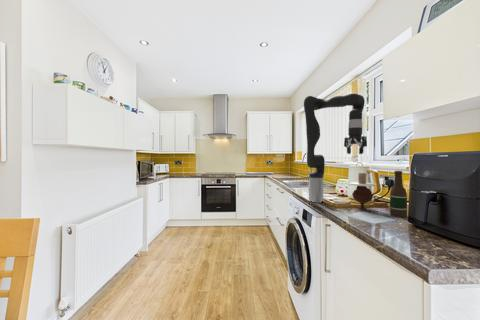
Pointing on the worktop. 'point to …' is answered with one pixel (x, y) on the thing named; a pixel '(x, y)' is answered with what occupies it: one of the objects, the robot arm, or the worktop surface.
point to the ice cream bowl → (362, 196)
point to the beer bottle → (398, 197)
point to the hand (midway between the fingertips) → (354, 153)
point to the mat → (369, 217)
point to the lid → (362, 181)
